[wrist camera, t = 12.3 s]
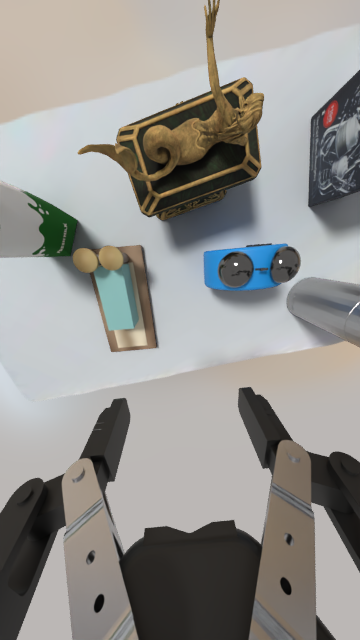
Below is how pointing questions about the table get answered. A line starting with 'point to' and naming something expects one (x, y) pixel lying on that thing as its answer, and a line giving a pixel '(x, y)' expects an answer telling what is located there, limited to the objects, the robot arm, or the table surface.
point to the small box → (336, 146)
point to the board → (133, 256)
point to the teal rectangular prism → (117, 297)
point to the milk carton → (33, 226)
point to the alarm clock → (250, 267)
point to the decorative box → (192, 145)
